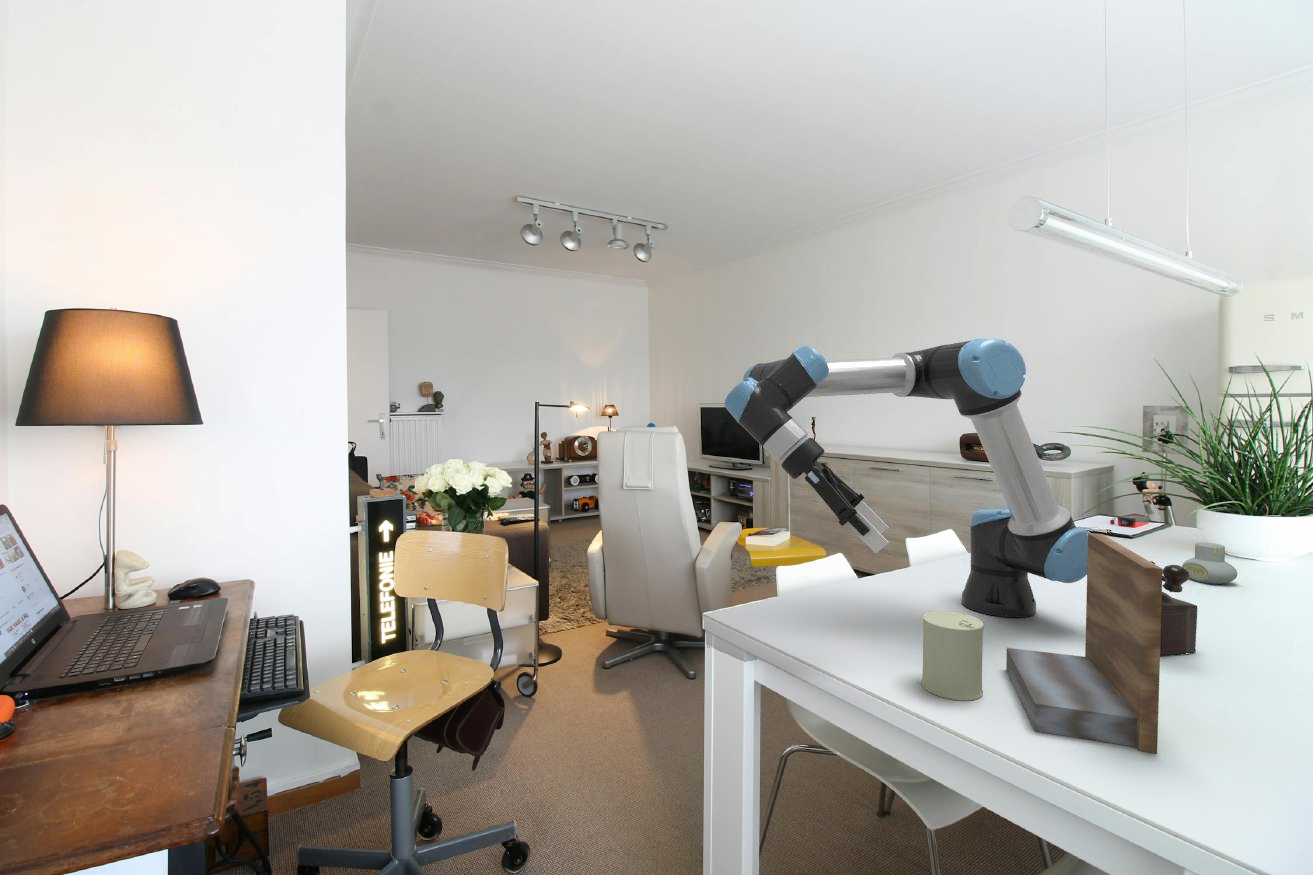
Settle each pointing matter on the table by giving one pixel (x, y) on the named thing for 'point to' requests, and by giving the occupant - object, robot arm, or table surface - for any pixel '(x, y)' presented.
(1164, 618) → the dark brown coffee grinder
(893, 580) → the table surface
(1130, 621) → the l-shaped bookend
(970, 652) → the can
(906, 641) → the table surface
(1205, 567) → the air freshener
